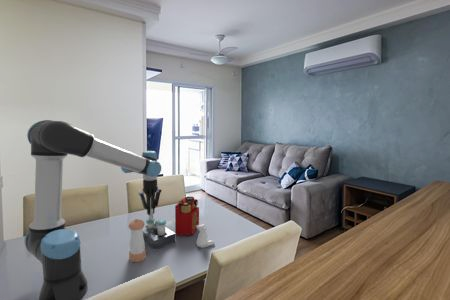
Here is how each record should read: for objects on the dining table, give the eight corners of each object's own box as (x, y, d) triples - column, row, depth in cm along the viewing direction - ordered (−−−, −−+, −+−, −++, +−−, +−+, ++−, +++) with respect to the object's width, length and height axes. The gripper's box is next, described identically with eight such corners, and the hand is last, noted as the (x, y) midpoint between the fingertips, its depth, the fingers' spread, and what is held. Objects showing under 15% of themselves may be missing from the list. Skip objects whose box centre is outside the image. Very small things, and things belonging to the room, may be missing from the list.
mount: (154, 249, 123) (154, 240, 122) (137, 235, 137) (137, 227, 136) (175, 242, 131) (175, 233, 130) (157, 229, 145) (157, 221, 145)
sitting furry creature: (215, 244, 130) (215, 223, 128) (205, 251, 122) (205, 229, 121) (201, 239, 135) (201, 218, 133) (191, 245, 128) (191, 224, 126)
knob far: (148, 234, 135) (148, 222, 134) (145, 231, 138) (144, 219, 137) (156, 231, 138) (156, 220, 137) (152, 228, 141) (152, 217, 140)
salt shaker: (128, 263, 111) (127, 223, 109) (130, 254, 118) (129, 217, 116) (145, 260, 113) (144, 221, 111) (145, 252, 120) (145, 215, 118)
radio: (191, 237, 136) (191, 203, 134) (174, 235, 138) (174, 201, 136) (199, 225, 152) (200, 194, 149) (184, 223, 153) (184, 193, 151)
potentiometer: (154, 232, 131) (154, 223, 130) (152, 229, 133) (152, 221, 133) (159, 230, 133) (159, 221, 132) (157, 228, 135) (157, 219, 135)
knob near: (159, 237, 126) (159, 224, 125) (155, 233, 129) (155, 221, 128) (167, 234, 129) (167, 221, 128) (163, 231, 132) (163, 218, 131)
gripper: (141, 182, 127) (142, 225, 130) (164, 178, 136) (164, 218, 139) (135, 179, 132) (136, 220, 135) (157, 175, 141) (158, 214, 144)
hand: (150, 219), depth 137 cm, fingers closed
